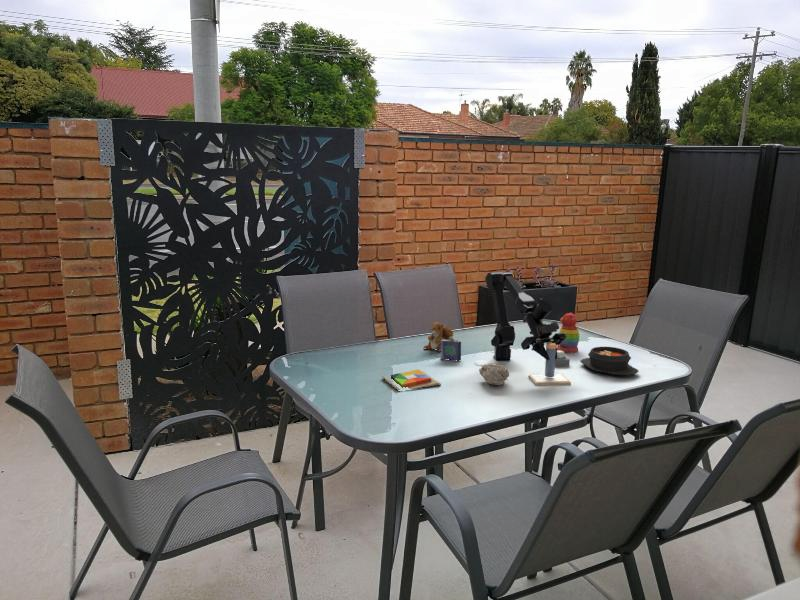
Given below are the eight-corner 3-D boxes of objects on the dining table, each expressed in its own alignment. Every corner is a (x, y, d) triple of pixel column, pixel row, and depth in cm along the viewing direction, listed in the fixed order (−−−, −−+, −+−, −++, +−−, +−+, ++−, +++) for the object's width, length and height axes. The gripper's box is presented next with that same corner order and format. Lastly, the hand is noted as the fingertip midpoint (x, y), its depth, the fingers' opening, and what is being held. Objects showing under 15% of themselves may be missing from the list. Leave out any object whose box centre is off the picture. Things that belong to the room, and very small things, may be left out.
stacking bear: (557, 346, 288) (559, 310, 285) (579, 348, 284) (581, 311, 281) (555, 352, 278) (556, 314, 275) (577, 354, 275) (579, 316, 271)
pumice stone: (509, 391, 226) (510, 371, 224) (477, 389, 228) (478, 369, 226) (508, 379, 239) (509, 360, 238) (478, 378, 241) (479, 359, 240)
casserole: (648, 374, 246) (649, 354, 244) (618, 382, 236) (620, 362, 235) (599, 359, 267) (600, 341, 265) (570, 366, 257) (571, 347, 255)
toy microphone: (544, 376, 236) (545, 344, 234) (545, 373, 240) (546, 342, 237) (554, 377, 235) (555, 345, 233) (554, 374, 239) (556, 343, 236)
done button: (555, 361, 258) (556, 353, 257) (552, 359, 262) (553, 350, 261) (564, 361, 258) (565, 352, 257) (561, 359, 262) (562, 350, 261)
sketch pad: (535, 385, 233) (535, 382, 232) (528, 377, 242) (528, 374, 242) (570, 384, 233) (570, 381, 233) (562, 376, 243) (562, 373, 243)
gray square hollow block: (553, 366, 256) (553, 359, 256) (548, 361, 263) (548, 355, 263) (569, 366, 257) (569, 359, 256) (563, 361, 264) (564, 354, 263)
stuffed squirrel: (421, 349, 282) (422, 322, 280) (440, 343, 293) (440, 317, 290) (438, 353, 276) (438, 326, 273) (456, 347, 286) (457, 320, 284)
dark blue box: (439, 359, 266) (440, 336, 264) (441, 358, 269) (442, 334, 267) (460, 361, 263) (460, 338, 261) (461, 360, 266) (462, 336, 264)
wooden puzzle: (381, 379, 241) (380, 371, 240) (423, 374, 248) (423, 366, 248) (397, 393, 225) (397, 384, 225) (442, 387, 232) (442, 378, 232)
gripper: (526, 317, 233) (543, 351, 225) (564, 313, 240) (582, 346, 232) (514, 332, 241) (529, 366, 233) (551, 327, 249) (567, 360, 241)
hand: (552, 359), depth 235 cm, fingers closed on toy microphone, 3 cm apart
